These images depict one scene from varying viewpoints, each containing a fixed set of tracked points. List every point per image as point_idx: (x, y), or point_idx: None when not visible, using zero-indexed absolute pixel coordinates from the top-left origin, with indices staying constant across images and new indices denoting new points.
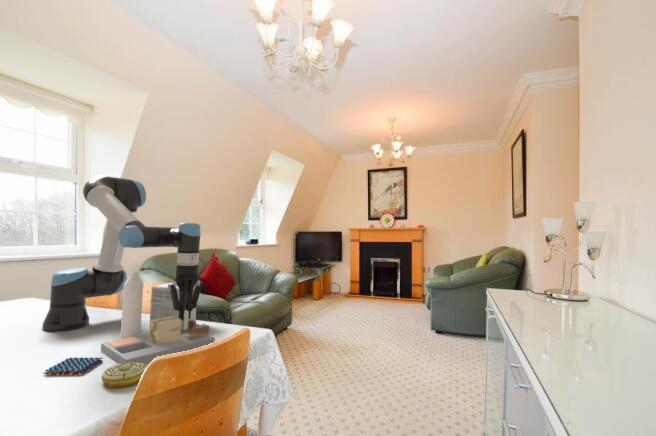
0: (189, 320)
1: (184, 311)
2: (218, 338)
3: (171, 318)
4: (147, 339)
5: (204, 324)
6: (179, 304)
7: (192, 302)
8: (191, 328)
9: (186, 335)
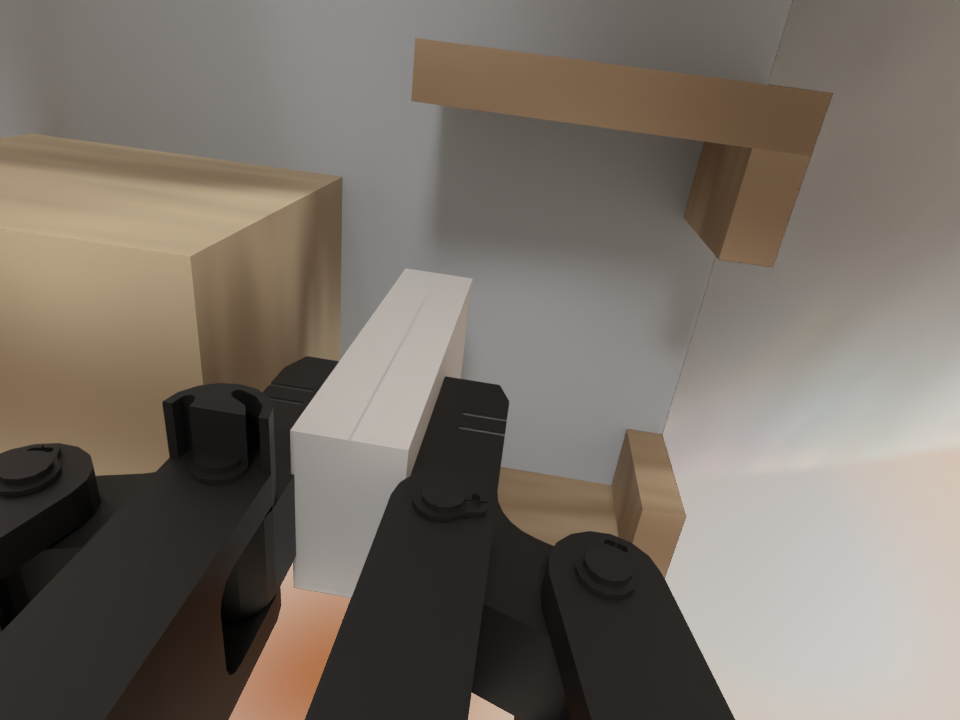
0: (750, 96)
1: (305, 558)
2: (791, 461)
3: (94, 391)
4: (26, 51)
5: (671, 524)
6: (66, 618)
7: (617, 713)
8: (708, 153)
9: (475, 322)
